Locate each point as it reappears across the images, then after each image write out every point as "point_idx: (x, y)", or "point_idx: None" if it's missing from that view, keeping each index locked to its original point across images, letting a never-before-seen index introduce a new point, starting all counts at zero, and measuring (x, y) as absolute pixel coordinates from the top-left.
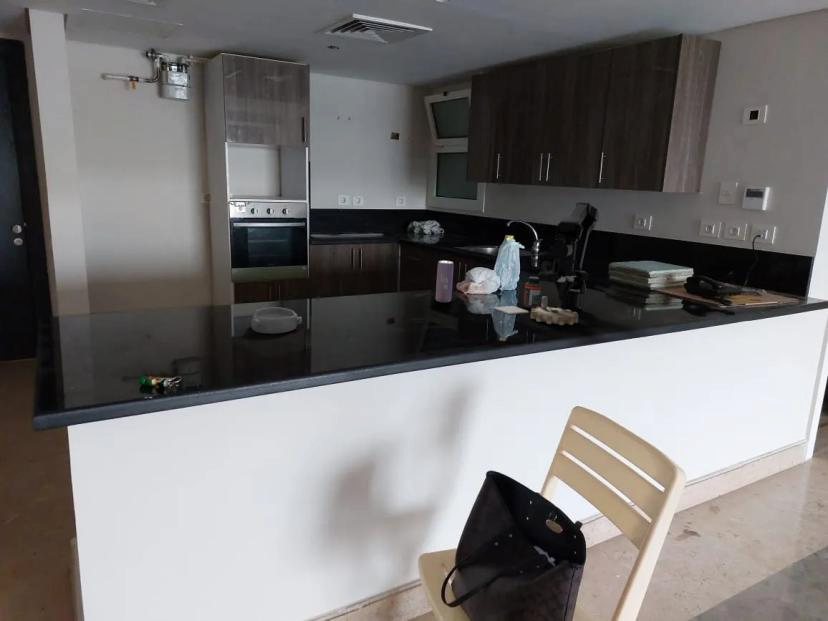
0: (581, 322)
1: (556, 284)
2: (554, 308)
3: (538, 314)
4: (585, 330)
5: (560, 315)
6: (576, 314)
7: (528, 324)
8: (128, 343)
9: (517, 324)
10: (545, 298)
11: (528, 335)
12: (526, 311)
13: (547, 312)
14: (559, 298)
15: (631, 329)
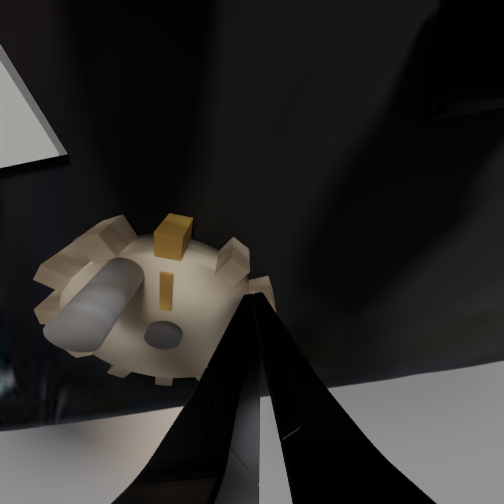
0: None
1: (152, 488)
2: (199, 277)
3: (71, 352)
4: None
5: (170, 367)
6: None
7: None
8: None
9: (5, 333)
10: (80, 345)
11: (47, 397)
12: (42, 155)
13: (123, 336)
14: (240, 302)
15: (367, 378)
